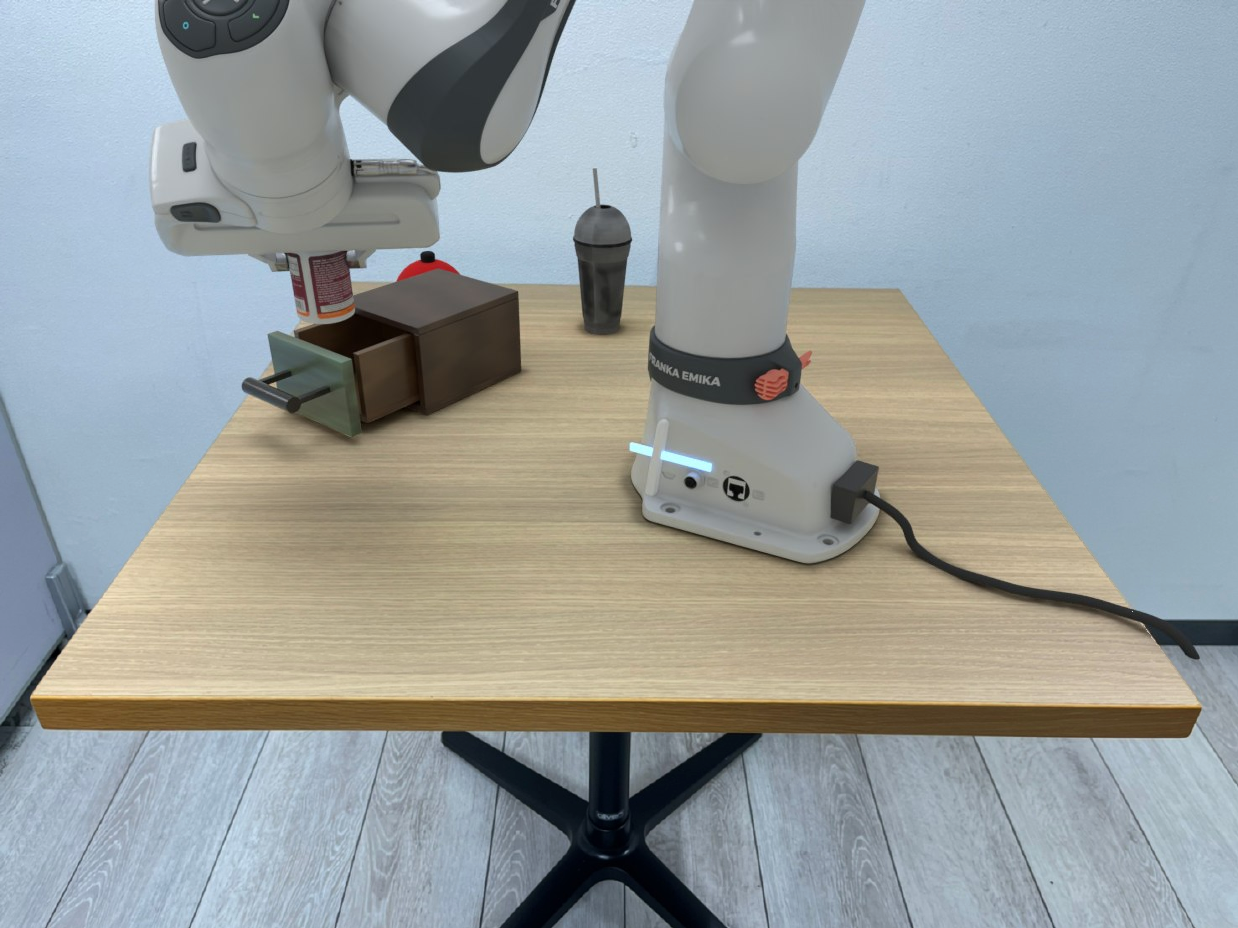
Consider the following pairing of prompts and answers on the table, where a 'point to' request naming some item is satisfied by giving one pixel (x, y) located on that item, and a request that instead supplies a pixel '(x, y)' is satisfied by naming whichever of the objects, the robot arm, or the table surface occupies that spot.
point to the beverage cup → (602, 264)
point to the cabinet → (451, 332)
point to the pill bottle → (321, 286)
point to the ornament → (425, 266)
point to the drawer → (341, 372)
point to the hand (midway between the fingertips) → (319, 262)
